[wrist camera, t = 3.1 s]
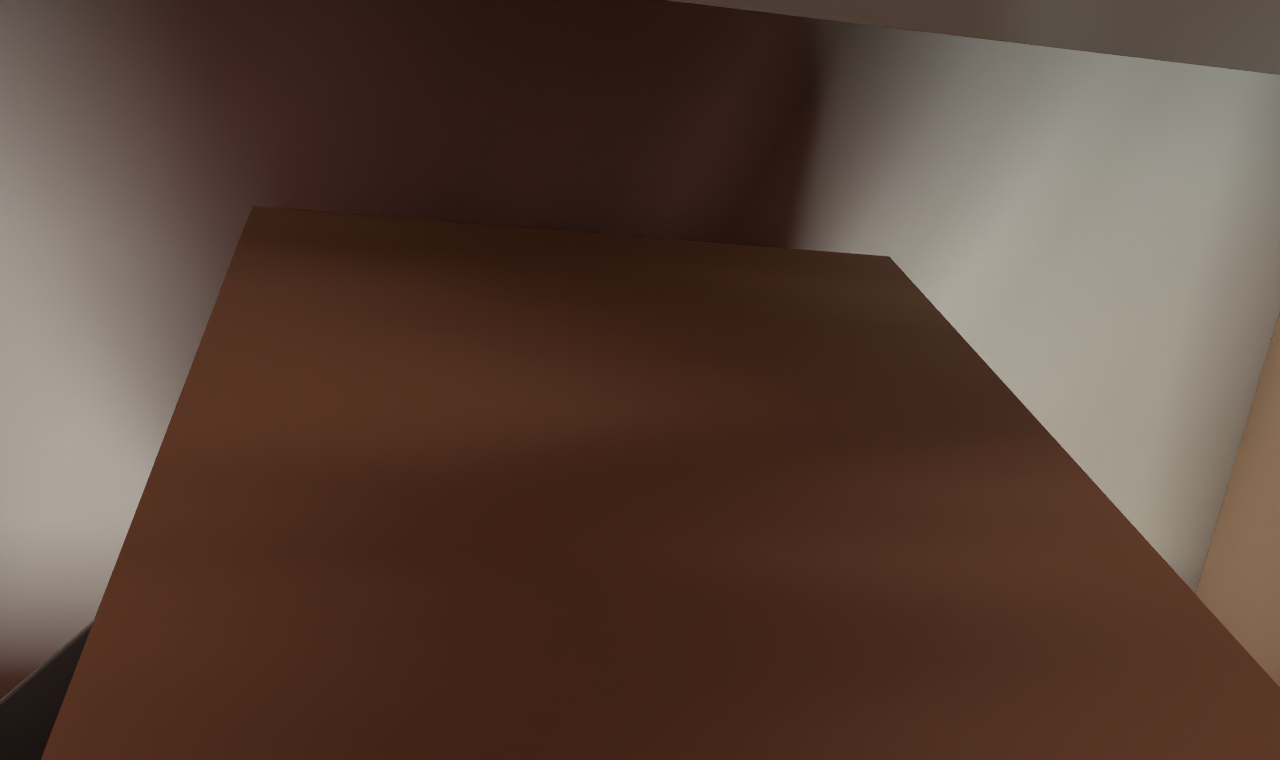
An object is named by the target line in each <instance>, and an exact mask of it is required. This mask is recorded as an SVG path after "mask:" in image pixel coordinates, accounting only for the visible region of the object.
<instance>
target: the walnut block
mask: <svg viewBox="0 0 1280 760" xmlns="http://www.w3.org/2000/svg"><path fill="white" fill-rule="evenodd" d="M41 760H1280V687H1279V686H1278V685H1277V684H1276V683H1275V682H1274V680H1273V679H1272V678H1271V677H1270V676H1269V675H1268V674H1267V673H1266V672H1265V671H1264V669H1263V668H1262V667H1261V666H1260V665H1259V664H1258V663H1257V662H1256V661H1255V660H1254V658H1253V657H1252V656H1251V655H1250V654H1249V653H1248V652H1247V651H1246V650H1245V648H1244V647H1243V646H1242V645H1241V644H1240V643H1239V642H1238V641H1237V640H1236V639H1235V637H1234V636H1233V635H1232V634H1231V633H1230V632H1229V631H1228V630H1227V629H1226V628H1225V626H1224V625H1223V624H1222V623H1221V622H1220V621H1219V620H1218V619H1217V618H1216V616H1215V615H1214V614H1213V613H1212V612H1211V611H1210V610H1209V609H1208V608H1207V607H1206V605H1205V604H1204V603H1203V602H1202V601H1201V600H1200V599H1199V598H1198V597H1197V596H1196V594H1195V593H1194V592H1193V591H1192V590H1191V589H1190V588H1189V587H1188V586H1187V585H1186V583H1185V582H1184V581H1183V580H1182V579H1181V578H1180V577H1179V576H1178V575H1177V573H1176V572H1175V571H1174V570H1173V569H1172V568H1171V567H1170V566H1169V565H1168V564H1167V562H1166V561H1165V560H1164V559H1163V558H1162V557H1161V556H1160V555H1159V554H1158V553H1157V551H1156V550H1155V549H1154V548H1153V547H1152V546H1151V545H1150V544H1149V543H1148V541H1147V540H1146V539H1145V538H1144V537H1143V536H1142V535H1141V534H1140V533H1139V532H1138V530H1137V529H1136V528H1135V527H1134V526H1133V525H1132V524H1131V523H1130V522H1129V521H1128V519H1127V518H1126V517H1125V516H1124V515H1123V514H1122V513H1121V512H1120V511H1119V510H1118V508H1117V507H1116V506H1115V505H1114V504H1113V503H1112V502H1111V501H1110V500H1109V498H1108V497H1107V496H1106V495H1105V494H1104V493H1103V492H1102V491H1101V490H1100V489H1099V487H1098V486H1097V485H1096V484H1095V483H1094V482H1093V481H1092V480H1091V479H1090V478H1089V476H1088V475H1087V474H1086V473H1085V472H1084V471H1083V470H1082V469H1081V468H1080V466H1079V465H1078V464H1077V463H1076V462H1075V461H1074V460H1073V459H1072V458H1071V457H1070V455H1069V454H1068V453H1067V452H1066V451H1065V450H1064V449H1063V448H1062V447H1061V446H1060V444H1059V443H1058V442H1057V441H1056V440H1055V439H1054V438H1053V437H1052V436H1051V435H1050V433H1049V432H1048V431H1047V430H1046V429H1045V428H1044V427H1043V426H1042V425H1041V423H1040V422H1039V421H1038V420H1037V419H1036V418H1035V417H1034V416H1033V415H1032V414H1031V412H1030V411H1029V410H1028V409H1027V408H1026V407H1025V406H1024V405H1023V404H1022V403H1021V401H1020V400H1019V399H1018V398H1017V397H1016V396H1015V395H1014V394H1013V393H1012V391H1011V390H1010V389H1009V388H1008V387H1007V386H1006V385H1005V384H1004V383H1003V382H1002V380H1001V379H1000V378H999V377H998V376H997V375H996V374H995V373H994V372H993V371H992V369H991V368H990V367H989V366H988V365H987V364H986V363H985V362H984V361H983V360H982V358H981V357H980V356H979V355H978V354H977V353H976V352H975V351H974V350H973V348H972V347H971V346H970V345H969V344H968V343H967V342H966V341H965V340H964V339H963V337H962V336H961V335H960V334H959V333H958V332H957V331H956V330H955V329H954V328H953V326H952V325H951V324H950V323H949V322H948V321H947V320H946V319H945V318H944V316H943V315H942V314H941V313H940V312H939V311H938V310H937V309H936V308H935V307H934V305H933V304H932V303H931V302H930V301H929V300H928V299H927V298H926V297H925V296H924V294H923V293H922V292H921V291H920V290H919V289H918V288H917V287H916V286H915V285H914V283H913V282H912V281H911V280H910V279H909V278H908V277H907V276H906V275H905V273H904V272H903V271H902V270H901V269H900V268H899V267H898V266H897V265H896V264H895V262H894V261H893V260H892V259H891V258H890V257H888V256H875V255H863V254H850V253H838V252H825V251H812V250H800V249H787V248H775V247H762V246H749V245H737V244H724V243H712V242H699V241H686V240H674V239H661V238H649V237H636V236H623V235H611V234H598V233H586V232H573V231H560V230H548V229H535V228H523V227H510V226H497V225H485V224H472V223H459V222H447V221H434V220H422V219H409V218H396V217H384V216H371V215H359V214H346V213H333V212H321V211H308V210H296V209H283V208H270V207H258V206H253V207H252V209H251V212H250V215H249V217H248V220H247V222H246V225H245V228H244V230H243V233H242V236H241V238H240V241H239V243H238V246H237V249H236V251H235V254H234V256H233V259H232V262H231V264H230V267H229V269H228V272H227V275H226V277H225V280H224V283H223V285H222V288H221V290H220V293H219V296H218V298H217V301H216V303H215V306H214V309H213V311H212V314H211V316H210V319H209V322H208V324H207V327H206V330H205V332H204V335H203V337H202V340H201V343H200V345H199V348H198V350H197V353H196V356H195V358H194V361H193V363H192V366H191V369H190V371H189V374H188V377H187V379H186V382H185V384H184V387H183V390H182V392H181V395H180V397H179V400H178V403H177V405H176V408H175V410H174V413H173V416H172V418H171V421H170V424H169V426H168V429H167V431H166V434H165V437H164V439H163V442H162V444H161V447H160V450H159V452H158V455H157V457H156V460H155V463H154V465H153V468H152V471H151V473H150V476H149V478H148V481H147V484H146V486H145V489H144V491H143V494H142V497H141V499H140V502H139V505H138V507H137V510H136V512H135V515H134V518H133V520H132V523H131V525H130V528H129V531H128V533H127V536H126V538H125V541H124V544H123V546H122V549H121V552H120V554H119V557H118V559H117V562H116V565H115V567H114V570H113V572H112V575H111V578H110V580H109V583H108V585H107V588H106V591H105V593H104V596H103V599H102V601H101V604H100V606H99V609H98V612H97V614H96V617H95V619H94V622H93V625H92V627H91V630H90V632H89V635H88V638H87V640H86V643H85V646H84V648H83V651H82V653H81V656H80V659H79V661H78V664H77V666H76V669H75V672H74V674H73V677H72V679H71V682H70V685H69V687H68V690H67V693H66V695H65V698H64V700H63V703H62V706H61V708H60V711H59V713H58V716H57V719H56V721H55V724H54V726H53V729H52V732H51V734H50V737H49V740H48V742H47V745H46V747H45V750H44V753H43V755H42V758H41Z"/></svg>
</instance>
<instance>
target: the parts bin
mask: <svg viewBox="0 0 1280 760" xmlns="http://www.w3.org/2000/svg"><path fill="white" fill-rule="evenodd" d="M668 1H677V2H685V3H693V4H701V5H710V6H718V7H726V8H734V9H742V10H751V11H759V12H767V13H775V14H784V15H792V16H800V17H808V18H817V19H825V20H833V21H841V22H850V23H858V24H866V25H874V26H882V27H891V28H899V29H907V30H915V31H924V32H932V33H940V34H948V35H957V36H965V37H973V38H981V39H989V40H998V41H1006V42H1014V43H1022V44H1031V45H1039V46H1047V47H1055V48H1064V49H1072V50H1080V51H1088V52H1097V53H1105V54H1113V55H1121V56H1129V57H1138V58H1146V59H1154V60H1162V61H1171V62H1179V63H1187V64H1195V65H1204V66H1212V67H1220V68H1228V69H1236V70H1245V71H1253V72H1261V73H1269V74H1278V75H1280V0H668Z"/></svg>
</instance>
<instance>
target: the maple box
mask: <svg viewBox="0 0 1280 760" xmlns="http://www.w3.org/2000/svg"><path fill="white" fill-rule="evenodd" d="M1195 594H1196V596H1197V597H1198V598H1199V599H1200V600H1201V601H1202V602H1203V603H1204V604H1205V605H1206V607H1207V608H1208V609H1209V610H1210V611H1211V612H1212V613H1213V614H1214V615H1215V616H1216V618H1217V619H1218V620H1219V621H1220V622H1221V623H1222V624H1223V625H1224V626H1225V628H1226V629H1227V630H1228V631H1229V632H1230V633H1231V634H1232V635H1233V636H1234V637H1235V639H1236V640H1237V641H1238V642H1239V643H1240V644H1241V645H1242V646H1243V647H1244V648H1245V650H1246V651H1247V652H1248V653H1249V654H1250V655H1251V656H1252V657H1253V658H1254V660H1255V661H1256V662H1257V663H1258V664H1259V665H1260V666H1261V667H1262V668H1263V669H1264V671H1265V672H1266V673H1267V674H1268V675H1269V676H1270V677H1271V678H1272V679H1273V680H1274V682H1275V683H1276V684H1277V685H1278V686H1279V687H1280V312H1279V316H1278V319H1277V322H1276V326H1275V329H1274V332H1273V336H1272V339H1271V342H1270V346H1269V349H1268V353H1267V356H1266V359H1265V363H1264V366H1263V369H1262V373H1261V376H1260V379H1259V383H1258V386H1257V389H1256V393H1255V396H1254V399H1253V403H1252V406H1251V409H1250V413H1249V416H1248V419H1247V423H1246V426H1245V429H1244V433H1243V436H1242V440H1241V443H1240V446H1239V450H1238V453H1237V456H1236V460H1235V463H1234V466H1233V470H1232V473H1231V476H1230V480H1229V483H1228V486H1227V490H1226V493H1225V496H1224V500H1223V503H1222V506H1221V510H1220V513H1219V516H1218V520H1217V523H1216V527H1215V530H1214V533H1213V537H1212V540H1211V543H1210V547H1209V550H1208V553H1207V557H1206V560H1205V563H1204V567H1203V570H1202V573H1201V577H1200V580H1199V583H1198V587H1197V590H1196V593H1195Z"/></svg>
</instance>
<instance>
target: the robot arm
mask: <svg viewBox="0 0 1280 760" xmlns="http://www.w3.org/2000/svg"><path fill="white" fill-rule="evenodd" d="M93 622H94V621H93ZM93 622H91V623H90V624H89V625H88V626H87V627H86V628H84V629H83V630H82V631H81V632H80V633H78V634H77V635H76V636H75V637H74V638H73V639H71V640H70V641H69V642H68V643H67V644H66V645H64V646H63V647H62V648H61V649H60V650H58V651H57V652H56V653H55V654H54V655H53V656H51V657H50V658H49V659H48V660H47V661H46V662H44V663H43V664H42V665H41V666H40V667H38V668H37V669H36V670H35V671H34V672H33V673H31V674H30V675H29V676H28V677H27V678H25V679H24V680H23V681H22V682H21V683H20V684H18V685H17V686H16V687H15V688H14V689H13V690H11V691H10V692H9V693H8V694H7V695H5V696H4V697H3V698H2V699H1V700H0V760H41V758H42V755H43V753H44V750H45V747H46V745H47V742H48V740H49V737H50V734H51V732H52V729H53V726H54V724H55V721H56V719H57V716H58V713H59V711H60V708H61V706H62V703H63V700H64V698H65V695H66V693H67V690H68V687H69V685H70V682H71V679H72V677H73V674H74V672H75V669H76V666H77V664H78V661H79V659H80V656H81V653H82V651H83V648H84V646H85V643H86V640H87V638H88V635H89V632H90V630H91V627H92V625H93Z"/></svg>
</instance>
